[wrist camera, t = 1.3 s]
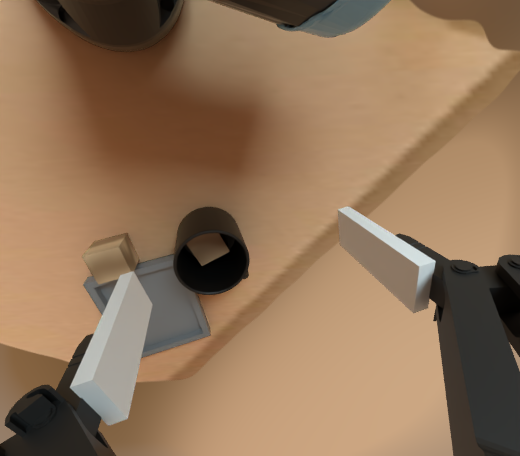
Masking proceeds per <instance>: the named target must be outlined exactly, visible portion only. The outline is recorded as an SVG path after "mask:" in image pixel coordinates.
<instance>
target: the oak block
mask: <svg viewBox="0 0 520 456" xmlns="http://www.w3.org/2000/svg"><path fill="white" fill-rule="evenodd" d="M82 258H83V259H84V261H85V263H86V265H87V266H88V268H89V270H90V271H91V273H92V275H93V276H94V278H95V280H96V282H97V283H98V284H102V283H106V282H109V281H113V280H116V279H119V277H120V275H122V274H126V273H129V272H132V271H135V268H136V266H137V263H138V260H139V257H138V255H137V253H136V251H135V249H134V247H133V244H132V242H131V240H130V238H129V236H128V234H127V233H125V234H121V235H117V236H113V237H109V238H105V239H101V240H97V241H94V242H93V244H92V245H91V246H90V247H89V249H88V250H87V251H86V252H85V253H84V255H83V256H82Z"/></svg>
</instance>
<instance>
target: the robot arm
mask: <svg viewBox="0 0 520 456" xmlns="http://www.w3.org/2000/svg"><path fill="white" fill-rule="evenodd" d="M36 1H37V2H38V3H39V4H40V5H41V6H42V7H43V8H44V9H45V10H46V11H47V12H48V13H49V14H50V15H51V16H52V17H53V18H55V19H56V20H57V21H58V22H59V23H61V24H62V25H63V26H65V27H66V28H67V29H69V30H70V31H72V32H73V33H75V34H76V35H77V36H79V37H81V38H82V39H84V40H86V41H88V42H90V43H92V44H94V45H97V46H99V47H102V48H106V49H110V50H115V51H137V50H141V49H145V48H147V47H150V46H152V45H154V44H156V43H157V42H159V41H160V40H161V39H163V38H164V37H165V36H166V35H167V34H168V32H169V31H170V30H171V29H172V27H173V26H174V24H175V22H176V21H177V19H178V17H179V14H180V11H181V8H182V5H183V1H184V0H36ZM209 1H212V2H215V3H217V4H220V5H223V6H226V7H229V8H232V9H235V10H238V11H241V12H244V13H247V14H249V15H252V16H255V17H258V18H261V19H264V20H267V21H270V22H273V23H276V25H277V26H278V27H279V28H281V29H283V30H286V31H303V32H306V33H310V34H313V35H317V36H320V37H327V38H329V37H336V36H338V35H343V34H346V33H349V32H352V31H354V30H355V29H357V28H358V27H360V26H362V25H363V24H365V23H366V22H367V21H369V20H370V19H371V18H372V17H374V16H375V15H376V14H377V13H378V12H379V11H380V10H381V9H382V8H384V7H385V6H386V5H387V4H388V3H389V2H390V1H391V0H209ZM338 222H339V239H340V245H341V246H342V247H343V248H344V249H345V250H346V251H347V252H348V253H349V254H351V256H353V257H354V258H355V259H356V260H357V261H358V262H359V263H360V264H361V265H362V266H363V267H364V268H365V269H367V270H368V271H369V272H370V273H371V274H372V275H373V276H374V277H375V278H376V279H377V280H378V281H379V282H380V283H382V284H383V285H384V286H385V287H386V288H387V289H388V290H389V291H390V292H391V293H393V295H394V296H396V297H397V298H398V299H399V300H400V301H401V302H402V303H403V304H404V305H405V306H406V307H407V308H408V309H410V310H411V311H412V312H413V313H416V312H418V311H421V310H424V309H426V308H428V304H429V298H430V299H431V300H432V301H434V302H435V303H436V310H435V315H434V320H433V321H436V320H437V325H438V333H439V342H440V350H441V358H442V366H443V374H444V382H445V390H446V398H447V407H448V415H449V423H450V431H451V438H452V446H453V455H454V456H520V371H519V368H518V366H517V363H516V360H515V358H514V355H513V352H512V349H511V347H510V344H511V345H512V346H513V348H514V349H515V351H516V352H517V354H518V355H519V357H520V255H504V256H502V257H500V258H499V260H498V263H497V265H495V266H484V267H478V266H477V265H475V264H473V263H471V262H468V261H463V260H448V259H446V258H445V257H443V256H442V255H440V254H438V253H437V252H435V251H433V250H432V249H430V248H428V247H425V245H423V244H421V243H418V241H416V240H414V239H412V238H411V237H409V236H406V235H402V234H397V235H393V234H392V233H390V232H388V231H387V230H385V229H384V228H382V227H380V226H379V225H377V224H376V223H374V222H373V221H371V220H370V219H368V218H366V217H365V216H363V215H362V214H360V213H358V212H357V211H355V210H354V209H352V208H350V207H349V206H348V207H344V208H341V209H338ZM152 305H153V304H152V303H151V301H150V299H149V297H148V296H147V294H146V292H145V290H144V289H143V287H142V285H141V283H140V282H139V280H138V278H137V276H136V274H135V273H134V271H132V272H129V273H126V274H122V275H120V277H119V279H118V281H117V284H116V286H115V288H114V290H113V293H112V295H111V297H110V299H109V301H108V304H107V306H106V308H105V310H104V313H103V315H102V317H101V319H100V321H99V324H98V326H97V328H96V330H95V333H94V334H91V335H88V336H86V337H85V338H84V339H83V341H82V342H81V343H80V344H79V345H78V347H77V349H76V351H75V353H74V355H73V357H72V358H73V359H71V361H70V363H69V365H68V368H67V369H66V371H65V373H64V375H63V377H62V379H61V381H60V383H59V385H58V387H57V389H56V390H55V389H53V388H52V387H51V386H50V385H42V386H39V387H37V388H35V389H33V390H31V391H30V392H28V393H27V394H25V395H24V396H23V397H22V398H21V399H20V400H19V401H17V403H16V404H15V405H14V406H13V408H12V409H11V410H10V411H9V413H8V415H7V417H6V419H5V426H6V427H8V428H10V429H11V430H12V431H14V432H15V433H16V435H14V436H13V437H11V438H9V439H8V440H6V441H4V442H3V443H1V444H0V456H116V455H115V453H114V452H113V450H112V449H111V447H110V446H109V444H108V443H107V441H106V440H105V438H104V436H103V435H102V433H101V432H99V431H98V427H99V424H100V421H101V419H102V420H103V421H104V422H105V423H106V424H107V425H112V424H115V423H117V422H120V421H123V420H126V419H128V415H129V411H130V407H131V402H132V397H133V393H134V388H135V383H136V379H137V374H138V370H139V365H140V360H141V356H142V351H143V347H144V342H145V337H146V333H147V328H148V323H149V319H150V314H151V310H152ZM509 342H510V344H509Z"/></svg>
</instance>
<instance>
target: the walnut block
mask: <svg viewBox="0 0 520 456" xmlns="http://www.w3.org/2000/svg"><path fill="white" fill-rule="evenodd" d="M187 246H188V247H189V249H190V250H191V251H192V253H193V254H194V256H195V257H196V259H197V260H198V261H199V263H200V264H201V266H203V265H205V264H207V263H209V262H211V261H213V260H215V259H217V258H219V257H221V256H222V255H224V254H226V253H228V252H230V250H229V246H228V242H227V239H226V237H225V235H224V234H220V233H208V234H203V235H200V236H197V237H195V238H193V239H192V240H190V241H189V242H188V243H187Z"/></svg>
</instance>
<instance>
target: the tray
mask: <svg viewBox="0 0 520 456" xmlns="http://www.w3.org/2000/svg"><path fill="white" fill-rule="evenodd" d="M173 260H174V254H172V255H168V256H165V257H161V258H157V259H154V260H150V261H146V262H143V263H139V264H137V266H136V268H135V271H134V273H135V274H136V276H137V278H138V280H139V282H140V283H141V285H142V287H143V289H144V290H145V292H146V294H147V296H148V297H149V299H150V301H151V303H152V304H153V305H152V310H151V314H150V319H149V323H148V328H147V333H146V337H145V342H144V347H143V351H142V356H141V358H143V357H146V356H149V355H152V354H155V353H158V352H161V351H164V350H167V349H170V348H173V347H176V346H180V345H183V344H186V343H189V342H192V341H195V340H198V339H201V338H204V337H207V336H210V327H209V324H208V321H207V319H206V316H205V313H204V311H203V308H202V305H201V303H200V300H199V297H198V295H197V293H195V292H192V291H190V290H188V289H187V288H185V287H184V286H183V285H182V284H181V283H180V282H179V280H178V279H177V277H176V275H175V272H174V268H173ZM117 281H118V279H116V280H113V281H109V282H106V283H102V284H98V283H97V282H96V280H95V278H94V276H91V277H88V278H87V279H86V281H85V282H84V284H83V285H84V287H85V288H86V290H87V292H88V293H89V295H90V296H91V298H92V300H93V301H94V303H95V304H96V306H97V308H98V309H99V311H100V312H101V314H102V315H103V313H104V310H105V308H106V306H107V304H108V301H109V299H110V297H111V295H112V293H113V290H114V288H115V286H116V284H117Z"/></svg>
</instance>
